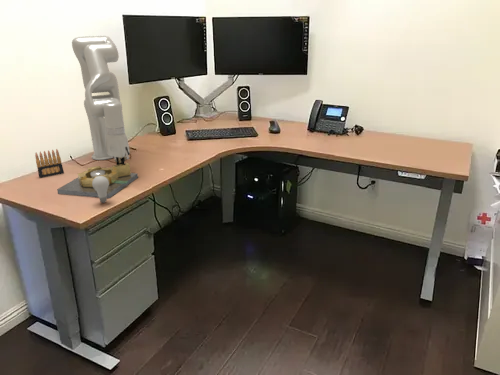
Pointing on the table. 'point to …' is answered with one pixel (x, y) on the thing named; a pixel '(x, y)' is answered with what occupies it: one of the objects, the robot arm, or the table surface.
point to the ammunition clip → (49, 164)
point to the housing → (79, 190)
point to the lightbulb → (101, 187)
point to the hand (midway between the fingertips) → (121, 170)
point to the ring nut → (110, 174)
